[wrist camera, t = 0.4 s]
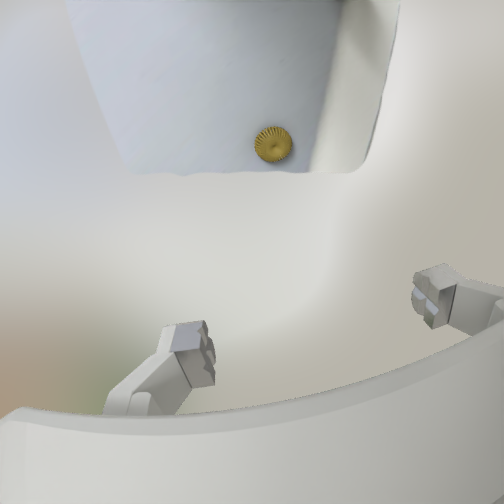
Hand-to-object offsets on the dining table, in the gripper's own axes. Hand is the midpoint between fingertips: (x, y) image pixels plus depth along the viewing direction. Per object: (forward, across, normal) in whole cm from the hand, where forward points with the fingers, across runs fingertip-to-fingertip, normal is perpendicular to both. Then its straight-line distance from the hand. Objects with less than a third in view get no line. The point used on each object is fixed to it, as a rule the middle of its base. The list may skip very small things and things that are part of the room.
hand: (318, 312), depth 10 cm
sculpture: (+55, -7, -4) cm, 56 cm away
